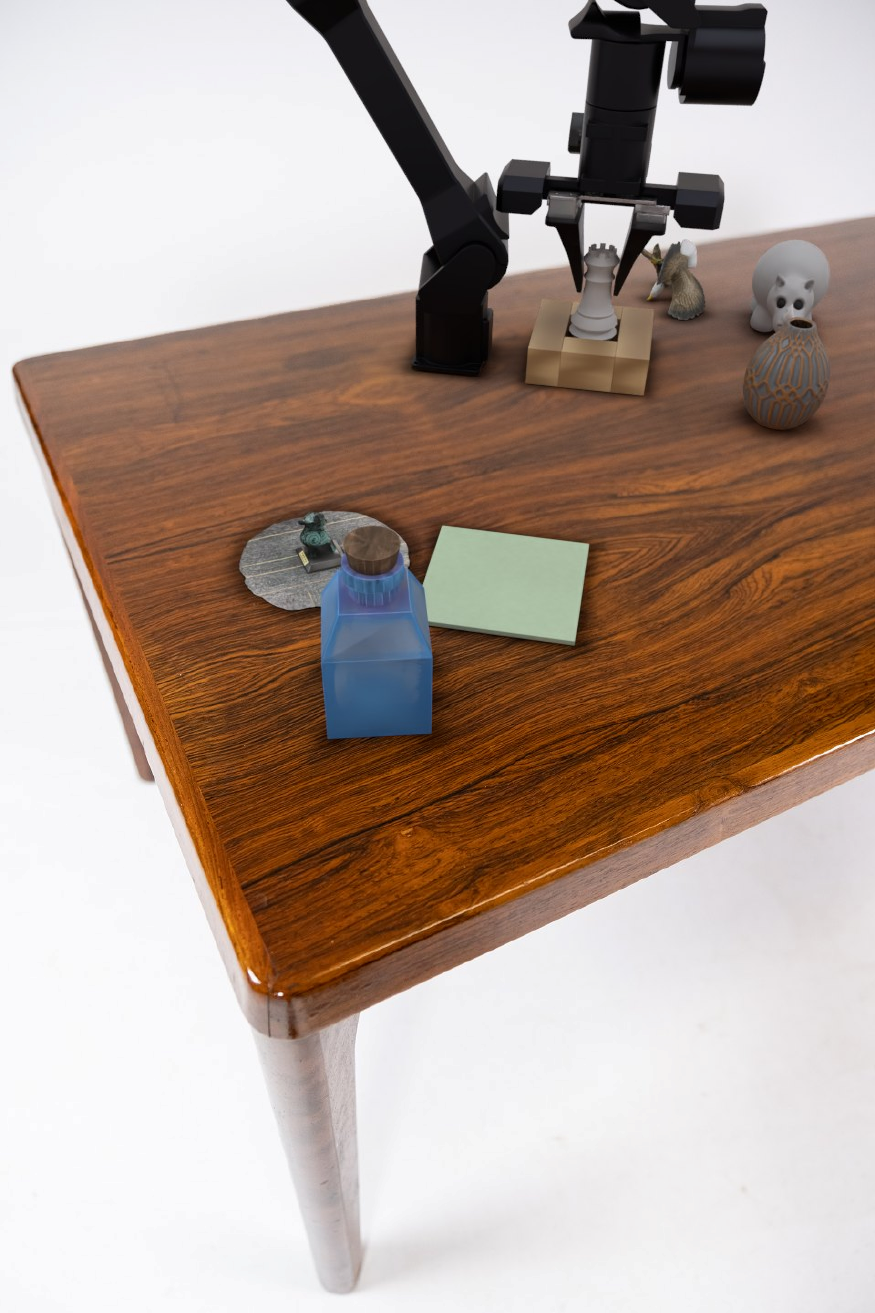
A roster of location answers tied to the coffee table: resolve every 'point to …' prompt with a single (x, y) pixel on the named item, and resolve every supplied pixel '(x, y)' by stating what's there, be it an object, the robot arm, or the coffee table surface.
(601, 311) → the rook chess piece
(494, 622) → the mat
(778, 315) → the round bodied animal figurine
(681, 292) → the eagle figurine
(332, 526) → the sculpture
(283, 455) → the coffee table surface
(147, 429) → the coffee table surface
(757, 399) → the vase
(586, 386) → the socket block
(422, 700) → the perfume bottle
